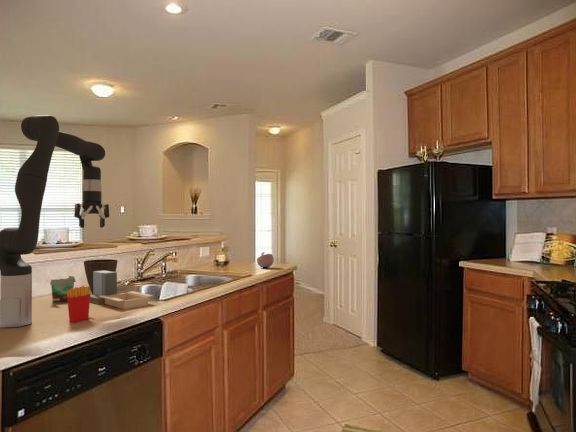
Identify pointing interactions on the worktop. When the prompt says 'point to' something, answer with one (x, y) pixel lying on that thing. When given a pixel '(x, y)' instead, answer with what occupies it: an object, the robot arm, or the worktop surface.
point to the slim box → (104, 283)
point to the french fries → (78, 303)
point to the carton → (127, 300)
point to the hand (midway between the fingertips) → (92, 227)
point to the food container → (61, 288)
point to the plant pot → (98, 268)
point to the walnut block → (97, 299)
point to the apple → (265, 260)
